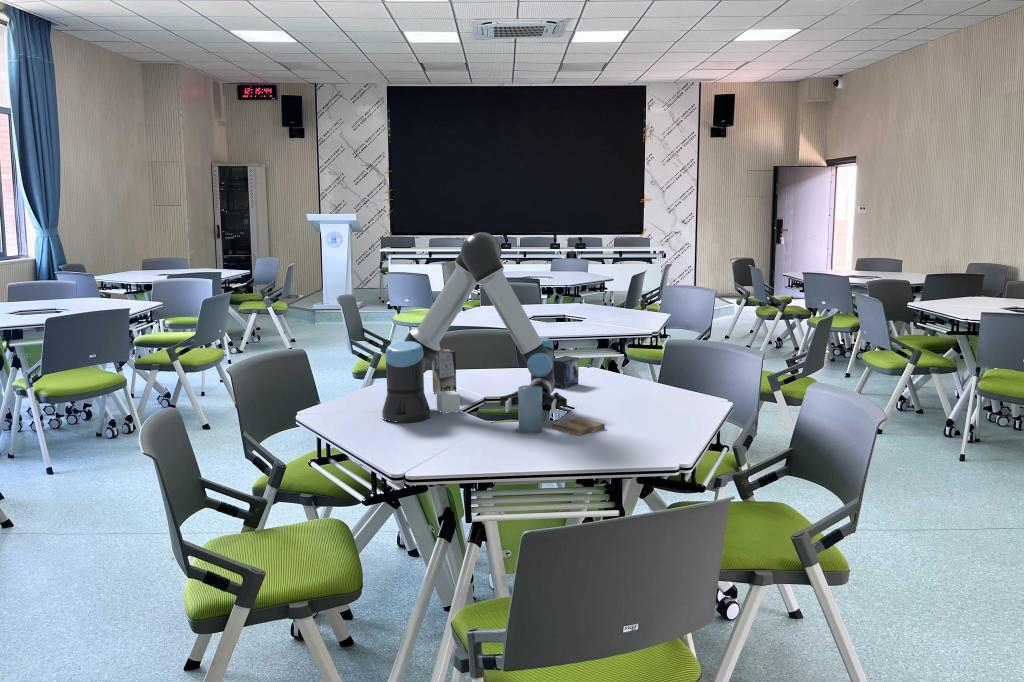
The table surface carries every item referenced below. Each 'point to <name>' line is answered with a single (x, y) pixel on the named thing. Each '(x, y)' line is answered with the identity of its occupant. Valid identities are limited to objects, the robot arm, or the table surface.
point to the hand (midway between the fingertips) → (529, 408)
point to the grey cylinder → (530, 409)
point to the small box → (565, 371)
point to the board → (578, 426)
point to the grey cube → (448, 401)
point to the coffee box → (444, 371)
